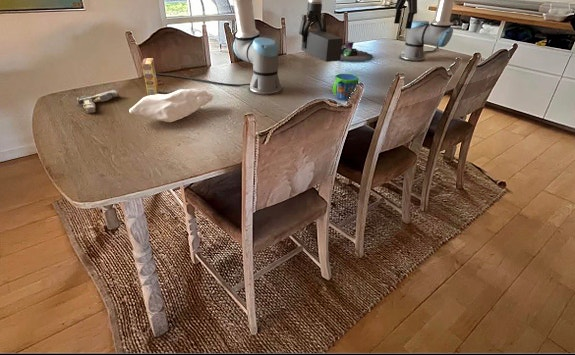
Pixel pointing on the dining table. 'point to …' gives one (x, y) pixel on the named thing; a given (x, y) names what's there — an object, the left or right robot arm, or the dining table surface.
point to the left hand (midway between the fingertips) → (311, 47)
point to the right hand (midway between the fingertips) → (402, 26)
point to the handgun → (95, 100)
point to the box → (323, 45)
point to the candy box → (150, 76)
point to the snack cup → (344, 85)
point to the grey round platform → (353, 53)
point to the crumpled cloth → (171, 104)
